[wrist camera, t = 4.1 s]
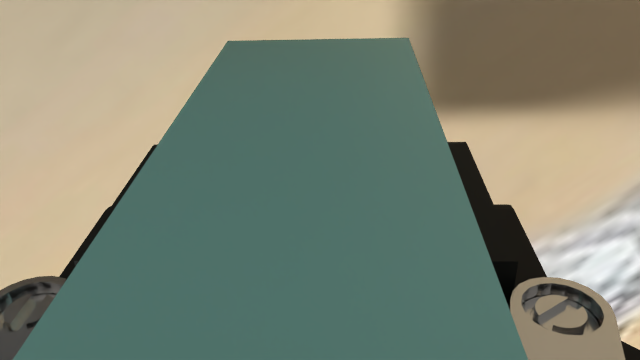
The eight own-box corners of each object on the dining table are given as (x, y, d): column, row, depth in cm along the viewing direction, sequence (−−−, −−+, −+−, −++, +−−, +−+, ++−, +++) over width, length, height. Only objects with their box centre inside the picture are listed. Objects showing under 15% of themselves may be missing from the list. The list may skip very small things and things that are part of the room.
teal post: (408, 38, 15) (575, 484, 4) (400, 195, 17) (496, 753, 6) (227, 40, 15) (-63, 471, 4) (244, 196, 17) (78, 735, 6)
